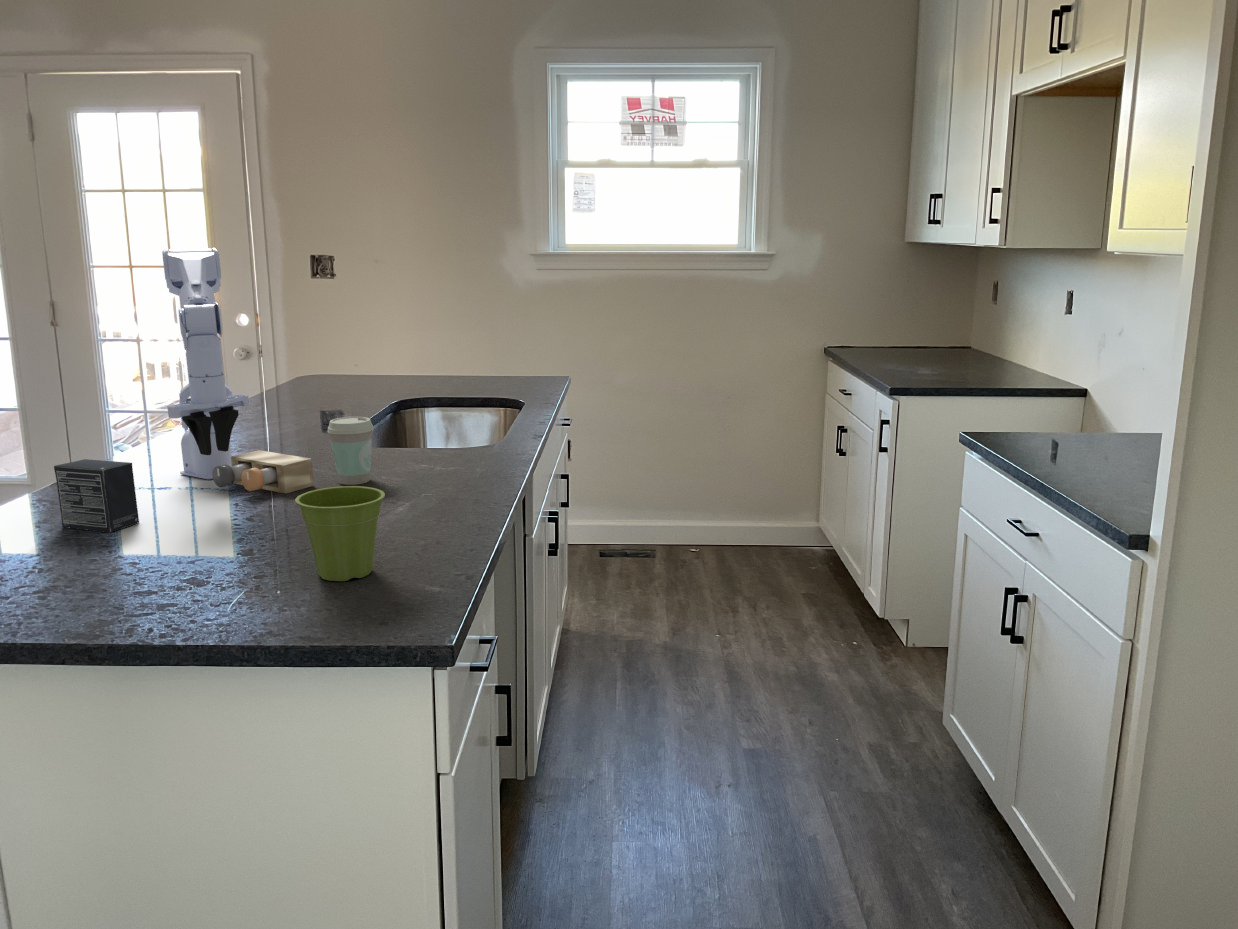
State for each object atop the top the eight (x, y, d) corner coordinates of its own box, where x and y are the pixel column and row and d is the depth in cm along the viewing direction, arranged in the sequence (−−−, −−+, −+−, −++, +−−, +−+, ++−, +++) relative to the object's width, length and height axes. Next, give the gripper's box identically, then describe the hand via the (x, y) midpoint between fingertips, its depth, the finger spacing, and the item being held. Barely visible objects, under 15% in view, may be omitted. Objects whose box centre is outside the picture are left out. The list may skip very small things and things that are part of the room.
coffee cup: (365, 487, 182) (360, 424, 179) (323, 485, 184) (318, 423, 181) (384, 476, 190) (380, 416, 187) (344, 475, 192) (340, 415, 189)
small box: (142, 522, 161) (134, 461, 158) (110, 534, 155) (102, 470, 152) (93, 517, 164) (85, 457, 162) (60, 528, 158) (51, 465, 156)
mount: (233, 483, 186) (230, 456, 185) (261, 476, 191) (259, 450, 190) (285, 493, 178) (283, 465, 177) (313, 485, 183) (311, 458, 182)
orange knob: (256, 492, 175) (254, 471, 174) (241, 489, 177) (239, 468, 176) (287, 484, 181) (285, 463, 180) (273, 481, 183) (271, 461, 182)
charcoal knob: (226, 489, 178) (224, 467, 177) (212, 486, 180) (210, 465, 179) (258, 481, 183) (256, 460, 183) (244, 478, 186) (242, 458, 185)
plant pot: (389, 584, 131) (383, 504, 128) (297, 591, 128) (290, 510, 126) (390, 557, 142) (385, 482, 140) (306, 563, 140) (299, 487, 137)
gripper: (182, 382, 158) (191, 463, 161) (257, 371, 170) (264, 447, 173) (156, 379, 161) (165, 458, 165) (231, 369, 173) (238, 443, 177)
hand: (214, 452), depth 169 cm, fingers open, 3 cm apart
